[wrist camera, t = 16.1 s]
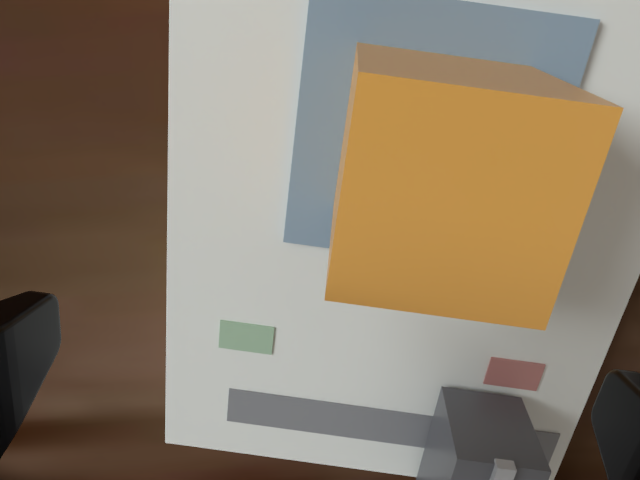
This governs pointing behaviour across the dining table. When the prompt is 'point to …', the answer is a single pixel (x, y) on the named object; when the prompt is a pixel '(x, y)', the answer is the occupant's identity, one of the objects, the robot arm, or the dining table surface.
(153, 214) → the dining table surface
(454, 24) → the breaker panel
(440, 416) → the block
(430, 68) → the cap
